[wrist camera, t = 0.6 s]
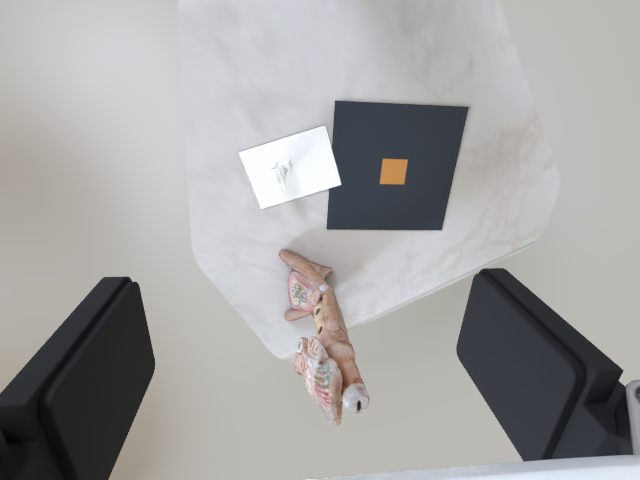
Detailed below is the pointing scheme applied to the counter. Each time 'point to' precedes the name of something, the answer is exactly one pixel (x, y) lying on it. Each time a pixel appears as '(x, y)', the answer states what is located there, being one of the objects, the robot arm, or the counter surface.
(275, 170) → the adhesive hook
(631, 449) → the robot arm
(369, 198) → the centre mat
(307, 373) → the figurine
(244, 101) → the counter surface
